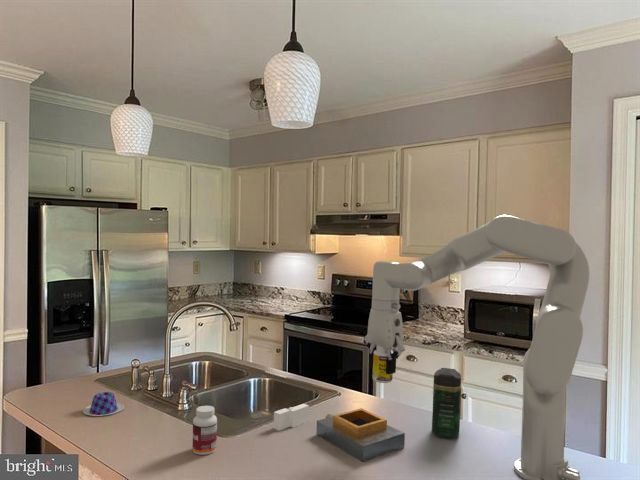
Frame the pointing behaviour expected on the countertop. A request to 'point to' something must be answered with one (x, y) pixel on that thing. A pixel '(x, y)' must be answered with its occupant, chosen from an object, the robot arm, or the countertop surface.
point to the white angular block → (291, 417)
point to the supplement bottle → (380, 366)
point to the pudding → (103, 405)
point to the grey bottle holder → (360, 434)
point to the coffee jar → (446, 403)
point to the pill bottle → (204, 431)
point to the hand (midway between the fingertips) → (382, 369)
